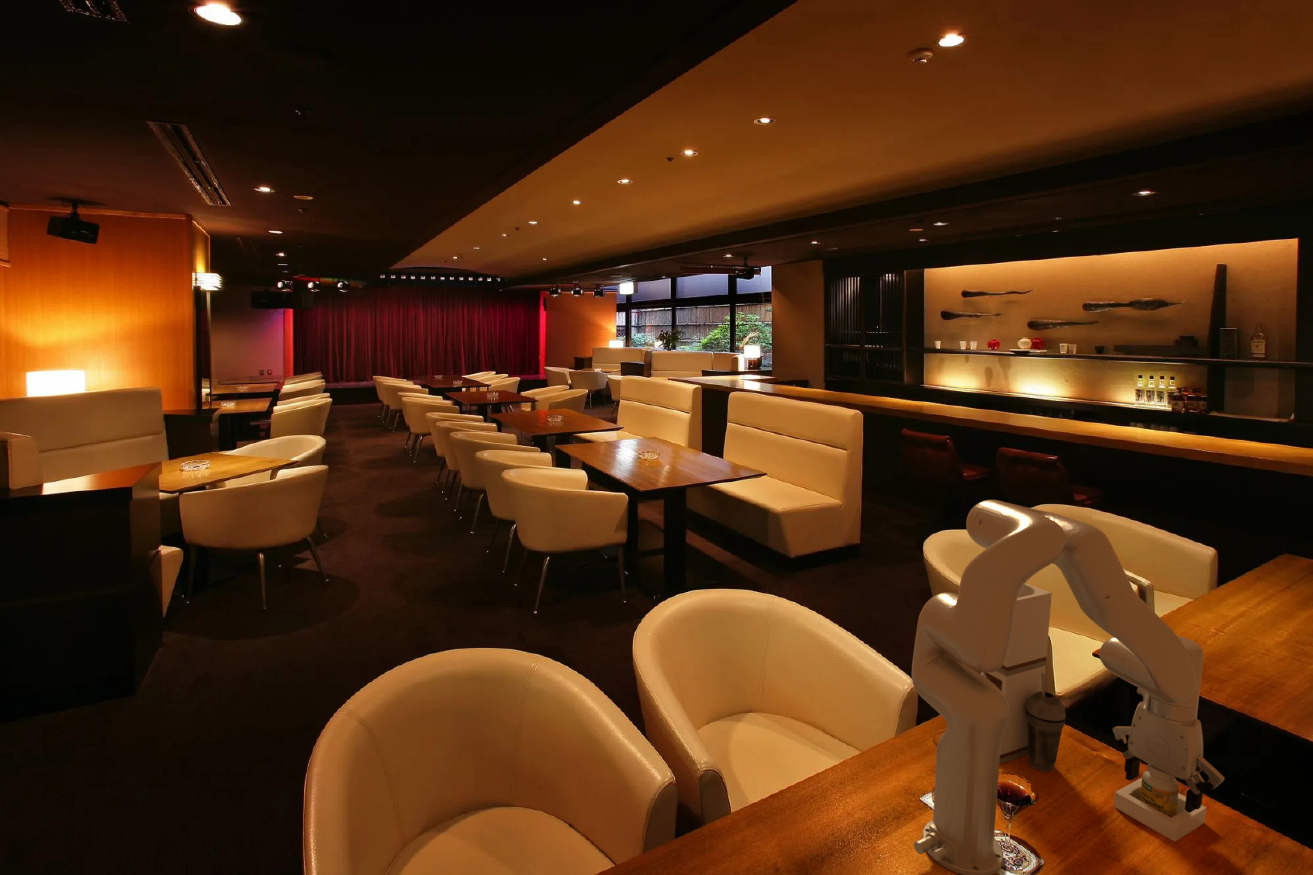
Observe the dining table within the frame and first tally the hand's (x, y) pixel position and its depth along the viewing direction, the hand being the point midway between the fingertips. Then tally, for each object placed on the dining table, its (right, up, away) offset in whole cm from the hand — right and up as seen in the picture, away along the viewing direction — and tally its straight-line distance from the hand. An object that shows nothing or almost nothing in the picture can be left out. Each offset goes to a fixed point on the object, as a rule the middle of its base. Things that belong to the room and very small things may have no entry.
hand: (1160, 792), depth 122 cm
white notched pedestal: (-18, -1, +23) cm, 29 cm away
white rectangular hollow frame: (0, -4, +1) cm, 4 cm away
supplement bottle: (0, -4, +1) cm, 5 cm away
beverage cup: (-13, -2, +15) cm, 20 cm away
